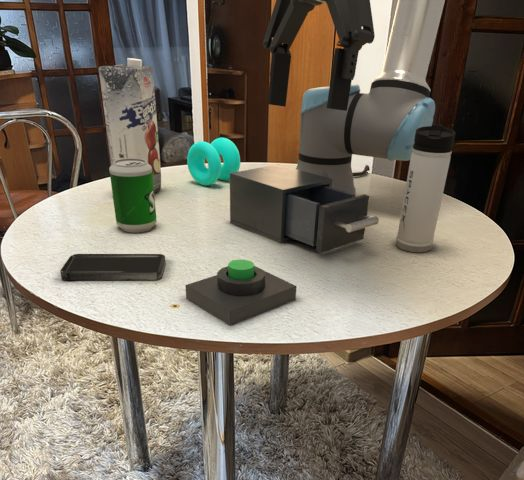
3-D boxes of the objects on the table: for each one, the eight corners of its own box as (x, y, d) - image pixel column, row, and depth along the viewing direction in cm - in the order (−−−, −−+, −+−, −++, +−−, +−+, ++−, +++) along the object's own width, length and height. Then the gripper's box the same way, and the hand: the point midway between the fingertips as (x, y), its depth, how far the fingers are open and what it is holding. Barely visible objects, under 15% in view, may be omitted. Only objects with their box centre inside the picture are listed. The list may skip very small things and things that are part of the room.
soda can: (148, 235, 94) (141, 168, 87) (109, 231, 95) (100, 164, 88) (162, 222, 100) (157, 158, 94) (126, 219, 101) (119, 156, 95)
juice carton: (110, 198, 113) (91, 58, 99) (131, 186, 122) (116, 56, 107) (147, 201, 112) (133, 60, 97) (166, 189, 120) (156, 57, 106)
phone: (71, 253, 82) (165, 253, 83) (73, 260, 83) (166, 260, 84) (58, 273, 76) (160, 273, 76) (59, 280, 76) (161, 280, 77)
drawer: (382, 245, 90) (389, 201, 86) (339, 261, 83) (345, 213, 79) (310, 220, 101) (313, 179, 97) (267, 231, 94) (268, 189, 90)
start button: (242, 268, 73) (243, 257, 72) (259, 277, 71) (259, 265, 70) (222, 275, 71) (222, 263, 70) (239, 283, 69) (239, 271, 68)
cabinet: (327, 229, 99) (332, 179, 94) (280, 243, 92) (283, 189, 87) (276, 211, 108) (278, 164, 103) (230, 222, 101) (229, 173, 96)
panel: (250, 277, 79) (250, 252, 77) (295, 300, 73) (297, 274, 71) (186, 299, 72) (184, 273, 70) (230, 326, 66) (229, 298, 64)
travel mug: (432, 242, 94) (457, 125, 84) (430, 255, 89) (456, 132, 78) (397, 238, 96) (418, 122, 85) (393, 249, 91) (414, 128, 80)
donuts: (242, 182, 128) (242, 139, 122) (215, 190, 121) (214, 145, 116) (213, 175, 133) (212, 134, 127) (185, 182, 126) (183, 139, 121)
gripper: (248, -76, 68) (234, 101, 76) (381, -135, 49) (343, 107, 58) (293, -60, 72) (276, 106, 80) (432, -109, 53) (390, 114, 62)
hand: (304, 107), depth 69 cm, fingers open, 13 cm apart
